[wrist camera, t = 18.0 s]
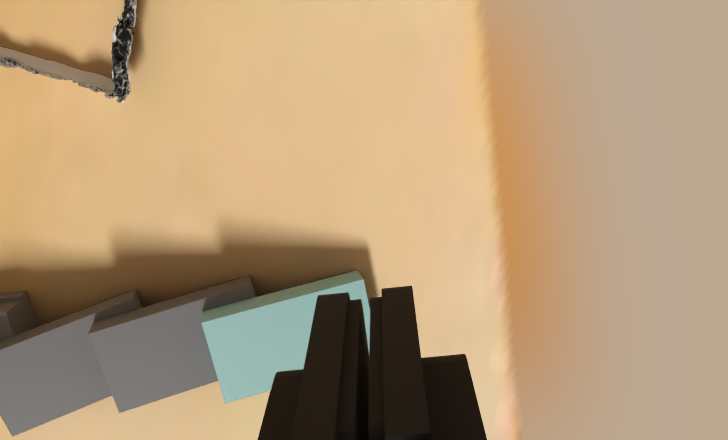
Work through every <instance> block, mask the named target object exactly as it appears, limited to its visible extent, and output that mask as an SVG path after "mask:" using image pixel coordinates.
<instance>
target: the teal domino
mask: <svg viewBox="0 0 728 440" xmlns="http://www.w3.org/2000/svg"><path fill="white" fill-rule="evenodd" d="M346 292H349V295H350V300H357V299H361V300H362V306H363V313H364V320H365V328H366V335H367V342H368V350H369V352H370V308H369V303H368V298H367V293H366V288H365V284H364V279H363V278H362V276H361V275H360V273H359V272H358V270H356V271H352V272H348V273H345V274H341V275H337V276H333V277H330V278H326V279H322V280H318V281H315V282H311V283H307V284H303V285H300V286H296V287H292V288H288V289H285V290H281V291H277V292H273V293H270V294H266V295H262V296H258V297H254V298H251V299H247V300H243V301H239V302H236V303H232V304H228V305H224V306H221V307H217V308H213V309H209V310H206V311H202V322H201V323H202V326H203V330H204V333H205V337H206V340H207V344H208V347H209V350H210V354H211V357H212V361H213V364H214V367H215V371H216V374H217V378H218V381H219V385H220V388H221V391H222V395H223V398H224V402H225V403H229V402H232V401H236V400H239V399H243V398H246V397H249V396H253V395H256V394H260V393H263V392H267V391H270V390H271V388H272V384H273V380H274V377H275V374H276V373H277V372H279V371H289V370H300V369H304V364H305V358H306V353H307V348H308V343H309V337H310V332H311V327H312V322H313V317H314V311H315V306H316V301H317V297H318V295H326V294H336V293H346Z"/></svg>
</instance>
